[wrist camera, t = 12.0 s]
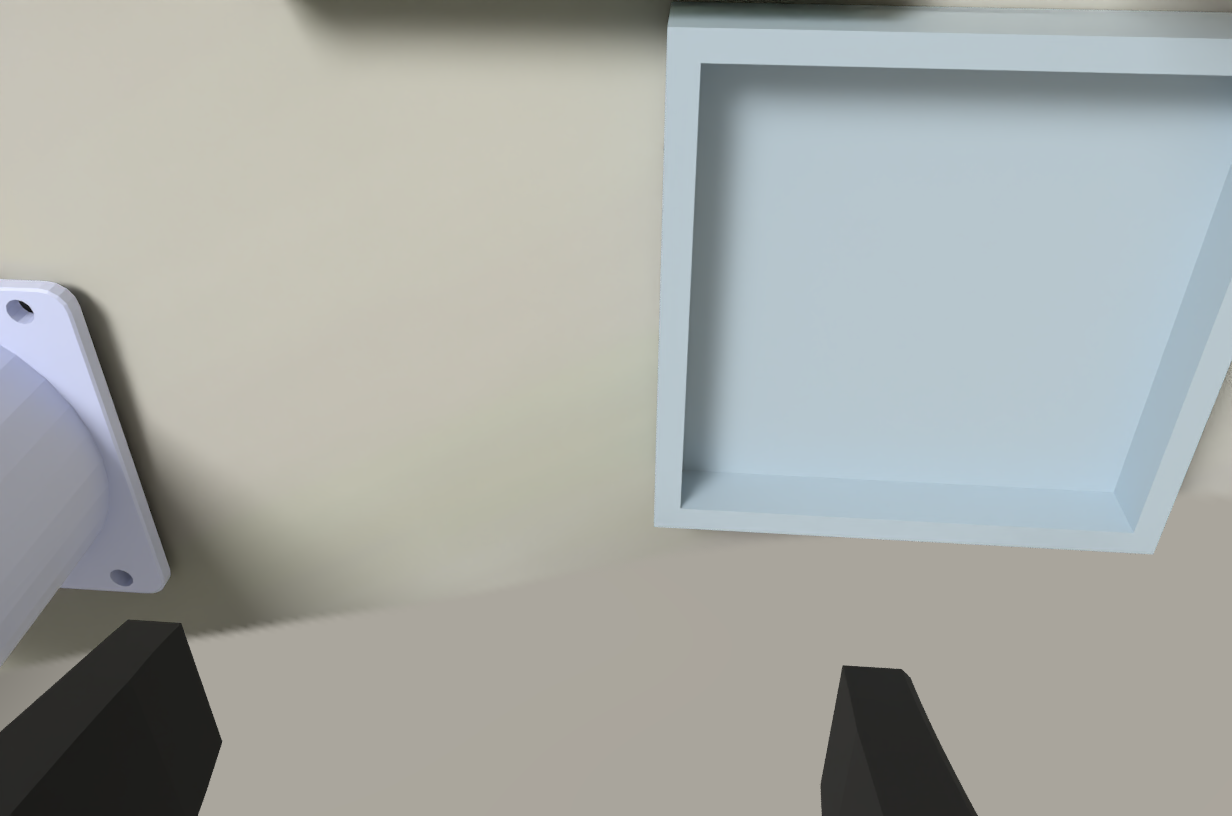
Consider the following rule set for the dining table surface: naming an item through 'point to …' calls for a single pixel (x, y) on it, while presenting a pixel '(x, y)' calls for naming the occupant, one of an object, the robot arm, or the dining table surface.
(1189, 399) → the blue-grey tray
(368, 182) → the dining table surface
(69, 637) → the dining table surface
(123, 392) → the dining table surface
